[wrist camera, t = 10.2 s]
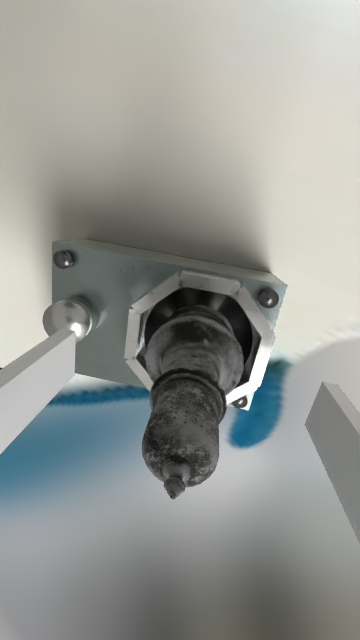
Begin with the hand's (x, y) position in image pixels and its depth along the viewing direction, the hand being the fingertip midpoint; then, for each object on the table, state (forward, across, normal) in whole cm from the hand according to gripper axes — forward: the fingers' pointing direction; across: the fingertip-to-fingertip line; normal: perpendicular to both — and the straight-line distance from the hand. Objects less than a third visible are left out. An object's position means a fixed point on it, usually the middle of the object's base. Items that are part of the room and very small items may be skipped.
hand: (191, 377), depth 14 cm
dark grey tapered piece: (+5, 0, 0) cm, 5 cm away
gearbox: (+10, -3, 0) cm, 11 cm away
